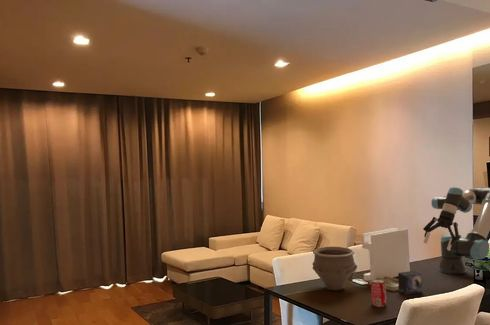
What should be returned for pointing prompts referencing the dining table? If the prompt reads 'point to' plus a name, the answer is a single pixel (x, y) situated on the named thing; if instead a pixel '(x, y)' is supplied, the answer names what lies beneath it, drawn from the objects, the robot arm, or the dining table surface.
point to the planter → (334, 266)
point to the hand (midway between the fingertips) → (436, 246)
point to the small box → (410, 282)
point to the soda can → (378, 293)
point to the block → (387, 252)
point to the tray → (389, 283)
